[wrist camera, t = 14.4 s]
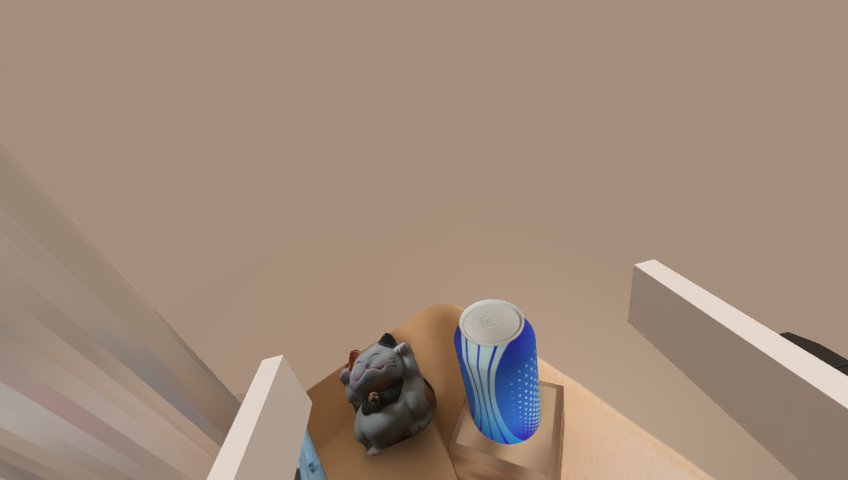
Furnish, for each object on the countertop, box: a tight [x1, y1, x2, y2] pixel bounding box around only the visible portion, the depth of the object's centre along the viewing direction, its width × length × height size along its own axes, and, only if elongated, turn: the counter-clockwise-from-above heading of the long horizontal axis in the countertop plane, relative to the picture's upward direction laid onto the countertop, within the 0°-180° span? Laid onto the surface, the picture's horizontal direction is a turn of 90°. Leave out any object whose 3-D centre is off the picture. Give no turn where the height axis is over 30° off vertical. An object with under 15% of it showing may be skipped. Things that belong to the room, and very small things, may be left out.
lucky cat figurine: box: [338, 333, 437, 456], centre depth 49 cm, size 15×12×14 cm
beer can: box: [454, 299, 541, 445], centre depth 34 cm, size 8×8×16 cm
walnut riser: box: [448, 381, 564, 480], centre depth 40 cm, size 12×12×8 cm
